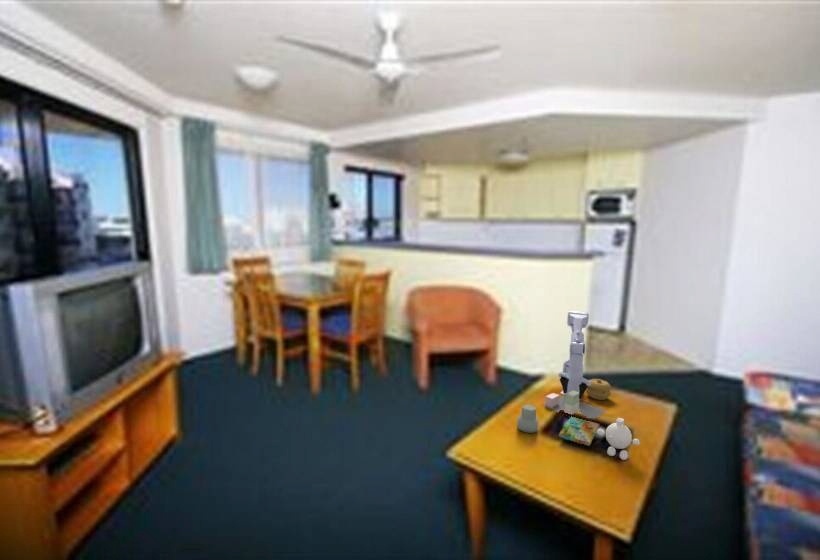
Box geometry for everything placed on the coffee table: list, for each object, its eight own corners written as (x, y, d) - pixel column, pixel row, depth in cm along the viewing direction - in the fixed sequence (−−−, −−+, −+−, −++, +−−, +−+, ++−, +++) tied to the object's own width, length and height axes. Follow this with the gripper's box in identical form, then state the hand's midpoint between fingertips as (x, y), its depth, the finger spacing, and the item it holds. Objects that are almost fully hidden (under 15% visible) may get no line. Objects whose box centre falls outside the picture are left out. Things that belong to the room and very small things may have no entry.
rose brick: (552, 401, 212) (552, 392, 211) (558, 404, 210) (559, 395, 209) (544, 405, 207) (545, 396, 207) (551, 407, 205) (552, 398, 204)
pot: (602, 393, 226) (604, 375, 225) (614, 402, 215) (616, 383, 213) (581, 393, 226) (582, 375, 224) (591, 402, 214) (593, 383, 213)
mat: (563, 396, 220) (563, 395, 220) (606, 411, 204) (606, 410, 204) (542, 406, 207) (542, 406, 207) (587, 423, 191) (587, 423, 191)
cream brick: (571, 408, 205) (572, 399, 204) (578, 411, 202) (579, 402, 202) (564, 412, 200) (564, 403, 200) (571, 415, 198) (572, 405, 197)
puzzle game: (599, 422, 183) (589, 440, 167) (598, 432, 184) (588, 452, 167) (571, 414, 190) (559, 431, 173) (570, 424, 190) (558, 442, 174)
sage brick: (572, 399, 204) (573, 390, 204) (579, 402, 202) (580, 392, 201) (564, 403, 200) (565, 393, 199) (572, 405, 197) (573, 396, 196)
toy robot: (593, 453, 166) (596, 417, 164) (597, 443, 174) (601, 408, 172) (636, 466, 158) (640, 428, 156) (638, 455, 166) (643, 419, 164)
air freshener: (536, 437, 177) (538, 414, 175) (516, 433, 180) (518, 410, 178) (538, 425, 187) (539, 404, 186) (518, 422, 190) (520, 400, 188)
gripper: (556, 365, 201) (554, 392, 203) (586, 374, 190) (583, 403, 192) (564, 362, 206) (561, 389, 207) (593, 370, 195) (590, 399, 197)
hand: (572, 395), depth 200 cm, fingers open, 7 cm apart
